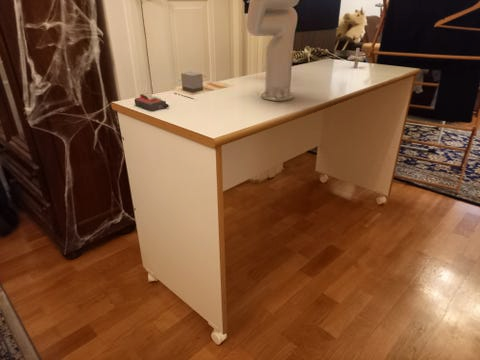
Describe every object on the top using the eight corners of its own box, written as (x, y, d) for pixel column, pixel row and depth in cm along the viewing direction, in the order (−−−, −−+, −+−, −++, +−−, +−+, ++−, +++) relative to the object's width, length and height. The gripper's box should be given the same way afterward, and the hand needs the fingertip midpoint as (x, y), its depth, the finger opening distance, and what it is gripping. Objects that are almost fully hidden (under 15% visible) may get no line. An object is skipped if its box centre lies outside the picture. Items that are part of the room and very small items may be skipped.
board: (215, 85, 155) (215, 81, 154) (234, 89, 147) (234, 85, 147) (174, 93, 142) (173, 89, 141) (192, 98, 134) (191, 94, 133)
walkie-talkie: (174, 108, 124) (144, 98, 137) (173, 96, 122) (143, 87, 135) (152, 113, 118) (124, 102, 131) (151, 100, 116) (122, 90, 129)
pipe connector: (342, 67, 192) (344, 47, 188) (358, 65, 195) (360, 46, 190) (352, 70, 184) (355, 49, 179) (369, 68, 186) (372, 49, 182)
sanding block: (192, 87, 144) (191, 71, 141) (203, 90, 139) (202, 73, 136) (182, 89, 141) (181, 73, 138) (193, 92, 136) (191, 75, 133)
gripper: (263, -33, 148) (263, 12, 156) (233, -35, 137) (234, 13, 145) (277, -34, 143) (275, 12, 151) (247, -36, 133) (247, 14, 140)
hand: (255, 13), depth 148 cm, fingers open, 9 cm apart
